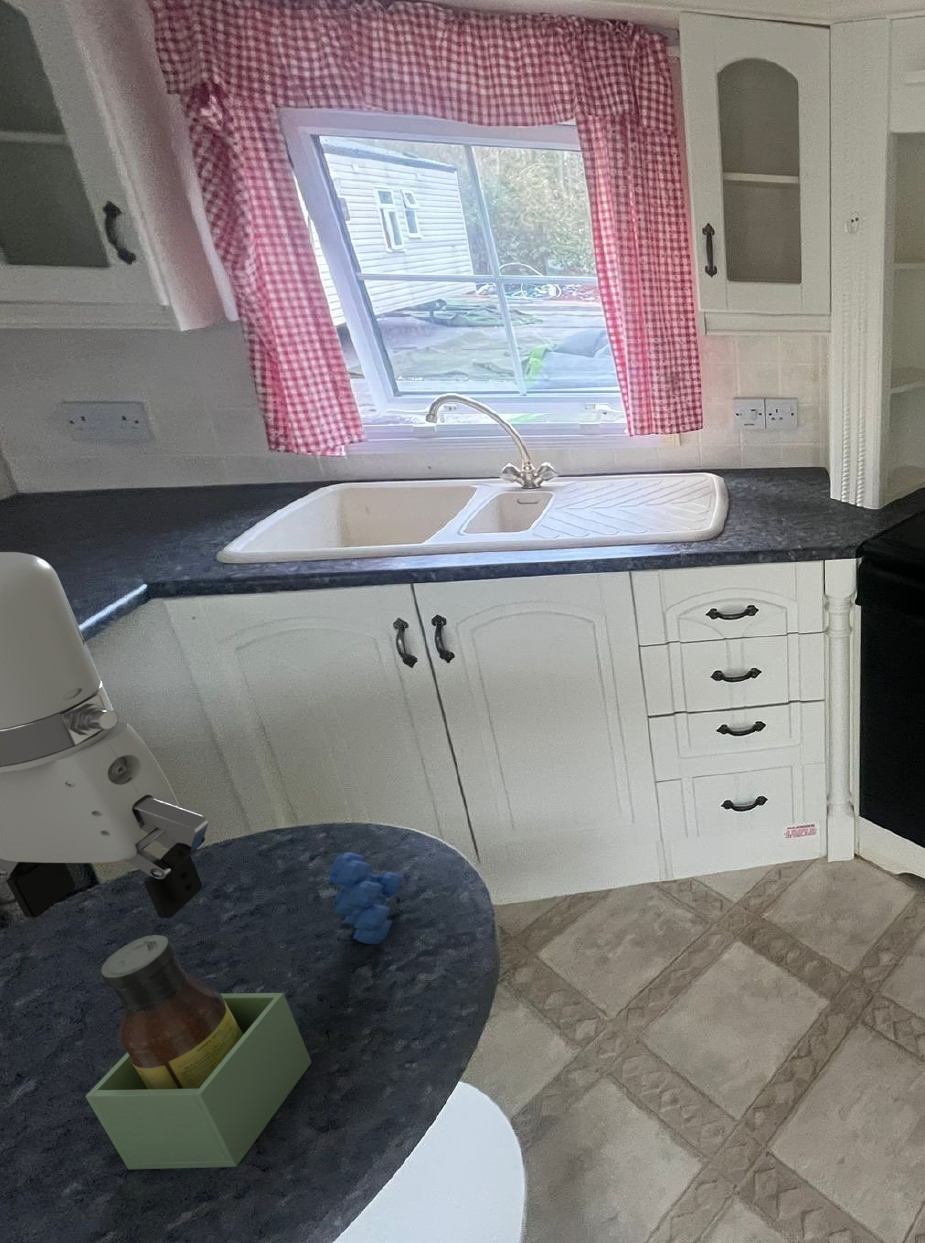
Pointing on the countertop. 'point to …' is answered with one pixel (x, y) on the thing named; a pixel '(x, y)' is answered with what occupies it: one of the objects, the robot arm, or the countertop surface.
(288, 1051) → the bin
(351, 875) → the grapes
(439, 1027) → the countertop surface
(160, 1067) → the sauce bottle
